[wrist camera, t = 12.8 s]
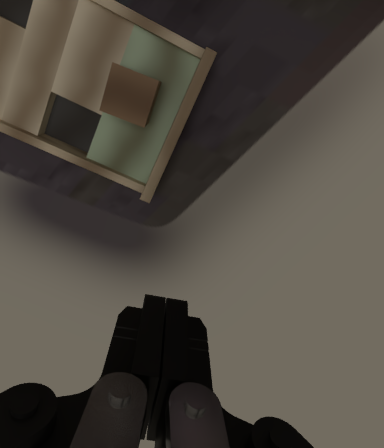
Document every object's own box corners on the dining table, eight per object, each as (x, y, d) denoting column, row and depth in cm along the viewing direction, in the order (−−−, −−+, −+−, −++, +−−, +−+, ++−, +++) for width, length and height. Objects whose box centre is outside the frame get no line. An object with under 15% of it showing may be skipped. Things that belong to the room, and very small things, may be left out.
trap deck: (-105, 75, 33) (-153, 72, 28) (-79, -99, 28) (-131, -137, 23) (153, 189, 38) (149, 203, 33) (212, 57, 33) (217, 52, 28)
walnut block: (120, 65, 31) (112, 61, 27) (161, 82, 32) (159, 81, 28) (108, 108, 32) (99, 110, 29) (148, 123, 33) (144, 127, 29)
